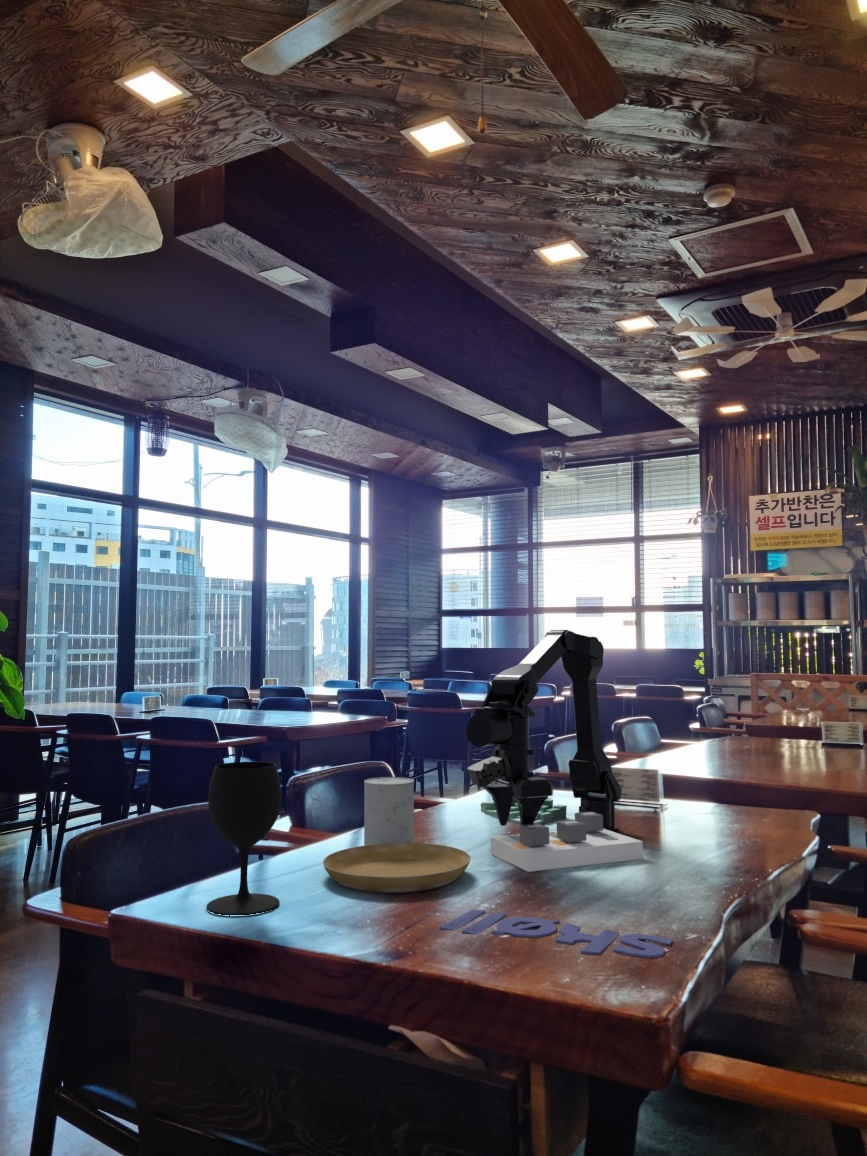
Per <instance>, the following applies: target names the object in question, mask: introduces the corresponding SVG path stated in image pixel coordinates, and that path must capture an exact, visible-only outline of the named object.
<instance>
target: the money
mask: <svg viewBox="0 0 867 1156" xmlns="http://www.w3.org/2000/svg"><path fill="white" fill-rule="evenodd" d="M514 796H516V795H514ZM567 807H568V806H567V805H564V804H556V805H554V799H552V798H548V799H545V801H544V803H543V805H542V807H541V809H540V810H539V812H538V814H537V817H536V819H535V821H534V823H533V824H537V823H538V824H540V825H541V824H542V825H543V823H544V824H549V823H553V822H558V821H560V820H564V818H565V819H567ZM480 812H481V813H483V814H486V815H488V816H491V817H492V818H493V817H494V818H495V819H498V815H497V812H496V808H495V805H494V802H493V801H482V802H481V803H480ZM507 822H510V823H513V824H514V823H515V824H518V823H519V825H521V822H520V813H519V805H518V804H517V802H516V801H515V800H514V799H513V801H512V805H511V809H510V814H509V818H508V821H507ZM548 822H549V823H548Z"/></svg>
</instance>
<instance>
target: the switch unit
mask: <svg viewBox="0 0 867 1156" xmlns="http://www.w3.org/2000/svg"><path fill="white" fill-rule="evenodd" d="M490 855H492V856H493V857H497V858H499V859H500V860H503V861H505V862H507V863H508V864H511V865H513V866H516V867H518V868H519V869H521V870H523V871H526V872H527V873H530V872H531V873H532V872H537V871H538V872H539V871H540V872H541V871H549V870H556V869H564V868H565V869H566V868H575V867H582V866H592V865H601V864H608V863H609V864H610V863H618V862H628V861H635V860H644V842H643V840H640V839H636V838H633V837H631V836H627V835H624V834H621V833H618V832H615V831H609V830H606V829H603V831H593V832H586V841H576V842H567V841H564V840H562V839H559V838H557V830H552V831H550V830H549V844H547V845H537V846H529V845H527V844H525V843H522V842H520V833H518V834H508V835H498V836H490Z"/></svg>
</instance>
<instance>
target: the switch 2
mask: <svg viewBox="0 0 867 1156" xmlns="http://www.w3.org/2000/svg"><path fill="white" fill-rule="evenodd" d="M574 820H575V821H578V822H581V823H584V824H586V832H593V831H603V815H601V814H597V813H594V812H580V813H579V812H574Z"/></svg>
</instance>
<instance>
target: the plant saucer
mask: <svg viewBox="0 0 867 1156" xmlns="http://www.w3.org/2000/svg"><path fill="white" fill-rule="evenodd" d="M471 858H472V857H471V855H470V854H469V853H468V852H466V851H465V850H463V849H460V848H456V847H453V846H448V845H444V844H443V845H442V844H436V843H426V842H425V843H424V842H414V843H384V844H373V845H365V846H364V845H359V846H353V847H349V848H344V849H341V850H338V851H337V850H336V851H334V852H332V853H331V854H328V855H327V856H326V857H325V856H324V859H323V860H322V865H323V867H324V868H323V869H325V871H326V873H327V874H328V875H329V876H330V877H331V878H332V879H333V880H334V881H335V882H337V883H338V884H339V885H341V886H344V887H345V888H349V889H352V890H356V891H360V892H361V891H363V892H369V893H383V894H384V893H385V894H387V893H389V894H395V893H396V894H398V893H399V894H401V893H412V892H413V893H415V892H423V891H429V890H433V889H438V888H441V887H444V886H447V885H449V884H450V883H453V882H454V881H455V880H457V879H458V878H460V876H461V875H462V874H463V873H464V872H465V871H466V870H467V868H468V866H469V864H470V861H471Z"/></svg>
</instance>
